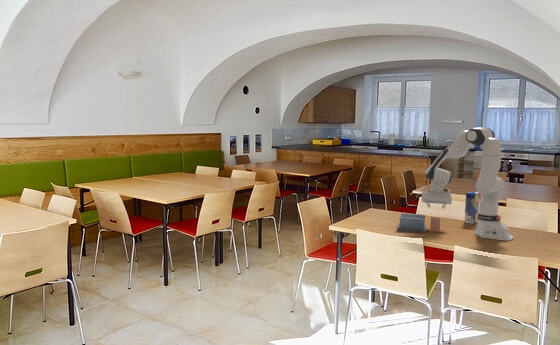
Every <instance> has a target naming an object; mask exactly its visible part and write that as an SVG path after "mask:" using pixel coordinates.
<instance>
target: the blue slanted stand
mask: <svg viewBox="0 0 560 345" xmlns="http://www.w3.org/2000/svg"><path fill="white" fill-rule="evenodd" d="M396 230H397V231H398V232H408V233H417V234H418V233H419V234H426V230H427V224H425V225H424V219H420V218H408V217H401V216H399V224H398V226H397V229H396Z"/></svg>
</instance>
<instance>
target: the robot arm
mask: <svg viewBox="0 0 560 345" xmlns="http://www.w3.org/2000/svg"><path fill="white" fill-rule="evenodd" d="M472 145H475V146H478V147H479V146H480V147H481V148H482V150H481V151H482V152H481V165H480V166H481V167H480V172H479V175H478V179H477V181H476V183H475V188H476V192H479V194H482V195H481V199H479V204H478V218H477V225H476V227H475V228H476V229H475V231H474V235H475V236H478V237H480V238H482V239H491V240H496V241H497V240H498V241H512V240H513V239H514V235H512V234H510V229H509V227H508V226H507V225H506V224H504V222H502V221H501V219H502V216H501V215H498V211H499V202H500V197H501V194H502V192H503V188H504V185H505V182H504V180H503V179H502V177H500V176H499V172H500V169H501V163H502V145H501V141H500V140H499V139H498V138H496V137H495V132H494V130H493V129H490V128H488V127H481V126H480V127H472V128H469V130H462V131H461V132H460V133H458V135H457V136H456V138H455V139H454V140H453V143H452V144H450V146H448V147H445V148H444V149H442V150H441V152H440V153H439V154H438V155H437V156H436V158H435V159H434V160H433V162H431V164H430V165H428V167H426V169H425V171H424V176H425V177H426V179H427V180H429V181H430V190H423V191H422V192H421V202H422V203H424V204H425V203H426V205H427V208H431V204H437V205H438V204H439V205H440V204H441V205H442V206H441V208H442V209H444V210H445V207H446V206H447V205H451V204H452V202H453V201H452V194H451V190H450V189H448V188H445V187H444V186H447V185H449V184H450V183H451V182H452V179H453V175H452V172H451V171H449V170H446V169H443V168H441V167H440V165H441V164H443V162H444V161H445V160H448V159H458V158H459V159H460V158H463V157H465V156H466V155H467V154H468V152H469V151H470V148H471V146H472Z"/></svg>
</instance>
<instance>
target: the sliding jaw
mask: <svg viewBox="0 0 560 345" xmlns="http://www.w3.org/2000/svg"><path fill="white" fill-rule="evenodd" d="M400 217H408V218H420V219H424V225H426V224H425V222H426V219H425V218H426V215H425V214H415V213H406V212H405V213H404V212H403V213H401V215H400Z"/></svg>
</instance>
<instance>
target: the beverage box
mask: <svg viewBox="0 0 560 345" xmlns="http://www.w3.org/2000/svg"><path fill="white" fill-rule="evenodd" d="M479 202H480V192H478V191H468V192H466V193H465V206H464V207H465V208H464V221H463V222H464V223H466V224H467V223H468V224H476V223H478V220H477V218H478V213H479Z"/></svg>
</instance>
